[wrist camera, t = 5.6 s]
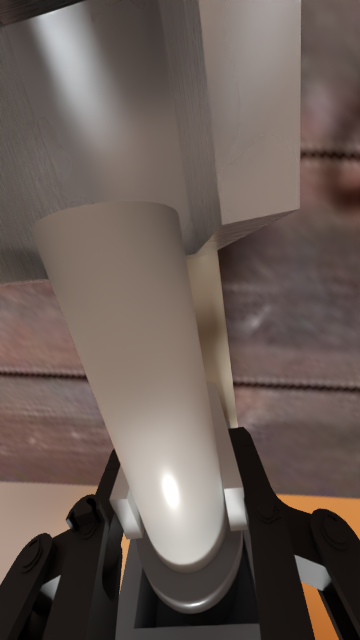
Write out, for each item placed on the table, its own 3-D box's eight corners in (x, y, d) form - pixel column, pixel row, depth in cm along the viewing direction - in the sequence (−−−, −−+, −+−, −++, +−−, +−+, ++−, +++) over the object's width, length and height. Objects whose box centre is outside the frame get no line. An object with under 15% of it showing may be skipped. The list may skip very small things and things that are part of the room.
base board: (50, 110, 10) (39, 98, 9) (193, 71, 10) (194, 54, 9) (155, 455, 18) (153, 464, 17) (238, 446, 17) (241, 454, 17)
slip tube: (80, 252, 8) (-91, 228, 3) (194, 228, 8) (212, 156, 3) (163, 508, 13) (150, 658, 8) (234, 502, 13) (266, 654, 8)
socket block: (151, 432, 16) (96, 711, 6) (229, 422, 15) (312, 710, 5) (160, 463, 17) (128, 743, 7) (233, 455, 17) (309, 745, 7)
